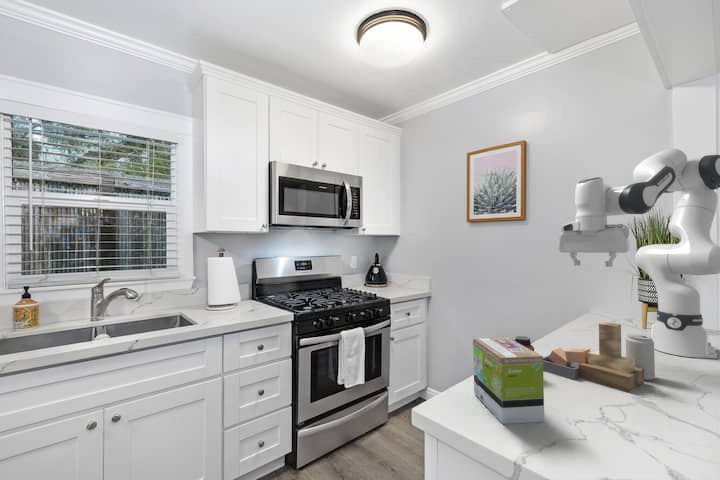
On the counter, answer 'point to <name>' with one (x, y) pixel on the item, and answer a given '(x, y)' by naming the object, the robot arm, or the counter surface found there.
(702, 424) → the counter surface
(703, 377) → the counter surface
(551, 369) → the tray
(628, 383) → the board
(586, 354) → the tile
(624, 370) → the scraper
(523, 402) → the tea box
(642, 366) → the beverage can
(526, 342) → the supplement bottle
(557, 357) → the peach square block
